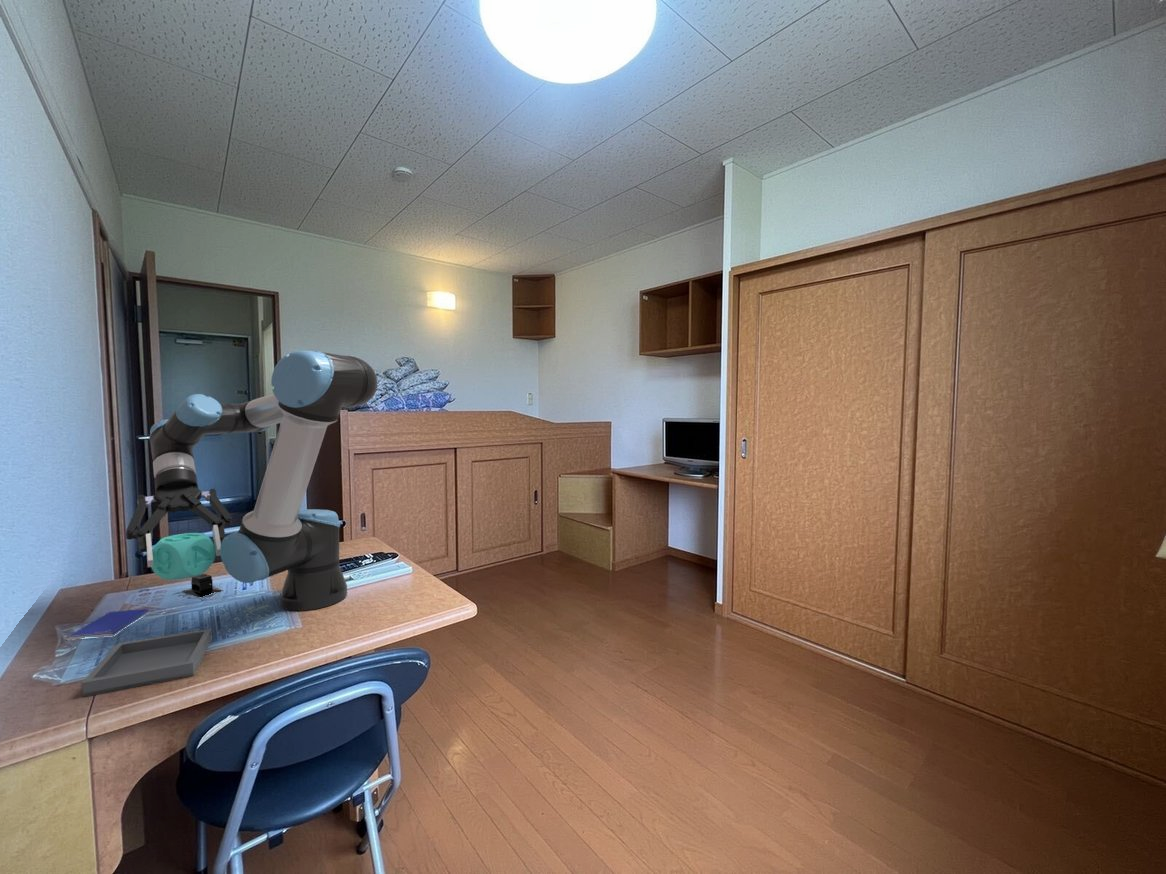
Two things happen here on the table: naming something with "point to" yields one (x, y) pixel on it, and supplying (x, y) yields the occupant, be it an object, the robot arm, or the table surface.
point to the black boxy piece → (201, 586)
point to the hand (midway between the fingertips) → (186, 558)
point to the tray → (148, 662)
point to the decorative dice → (183, 556)
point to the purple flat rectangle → (109, 624)
